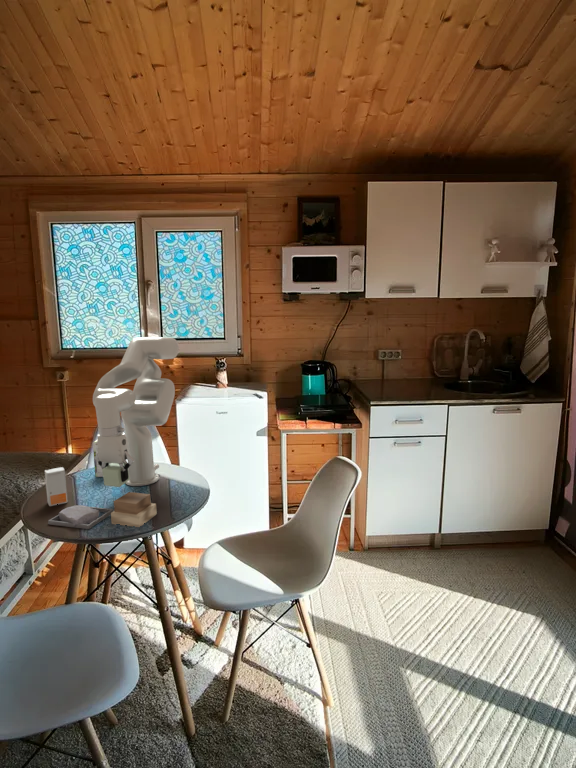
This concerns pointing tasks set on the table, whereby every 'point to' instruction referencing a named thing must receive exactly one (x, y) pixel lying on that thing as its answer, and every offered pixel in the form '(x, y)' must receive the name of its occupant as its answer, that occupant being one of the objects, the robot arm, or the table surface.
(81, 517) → the stone block
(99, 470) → the syrup box
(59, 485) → the skincare box
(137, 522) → the beech block
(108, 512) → the tray rim
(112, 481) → the green cube
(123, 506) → the walnut block
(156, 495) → the table surface
